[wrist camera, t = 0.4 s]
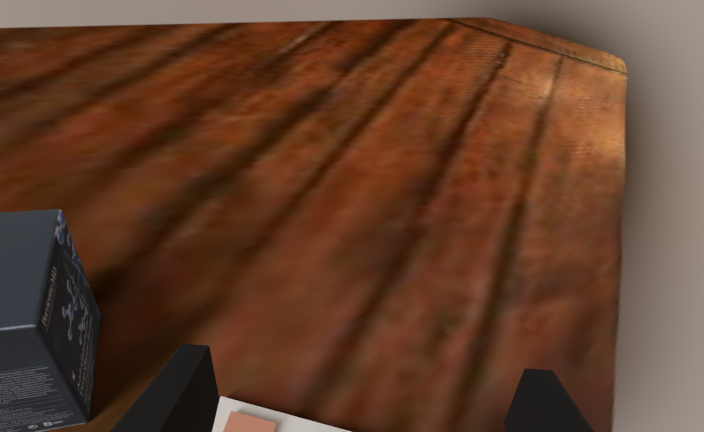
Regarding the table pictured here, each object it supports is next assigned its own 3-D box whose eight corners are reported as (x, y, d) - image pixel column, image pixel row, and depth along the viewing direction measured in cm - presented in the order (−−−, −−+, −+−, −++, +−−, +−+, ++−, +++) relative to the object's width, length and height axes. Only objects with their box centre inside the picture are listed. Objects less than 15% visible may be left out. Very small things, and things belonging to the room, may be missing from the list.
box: (93, 423, 29) (36, 326, 21) (-19, 444, 27) (-121, 346, 20) (104, 313, 34) (62, 204, 26) (11, 325, 32) (-61, 213, 25)
